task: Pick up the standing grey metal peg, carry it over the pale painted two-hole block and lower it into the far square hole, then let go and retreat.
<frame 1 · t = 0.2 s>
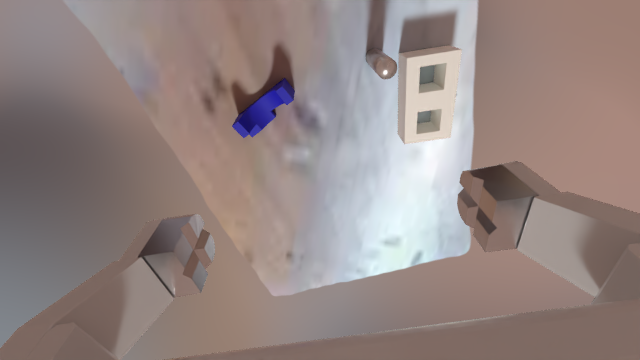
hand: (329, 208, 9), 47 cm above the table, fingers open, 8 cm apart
cable clip: (268, 105, 55), on the table
hole block: (421, 93, 54), on the table
peg: (373, 57, 50), on the table
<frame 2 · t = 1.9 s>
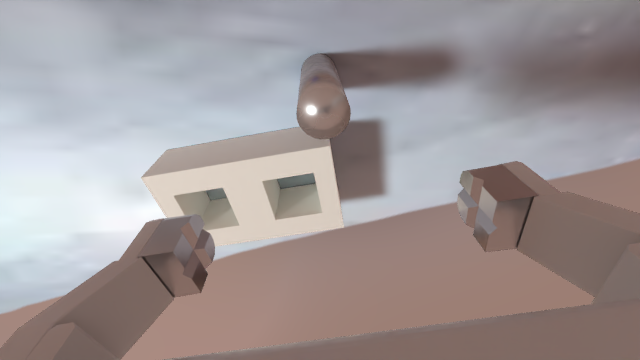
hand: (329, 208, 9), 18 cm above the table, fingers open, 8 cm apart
hole block: (258, 174, 29), on the table
peg: (318, 72, 24), on the table
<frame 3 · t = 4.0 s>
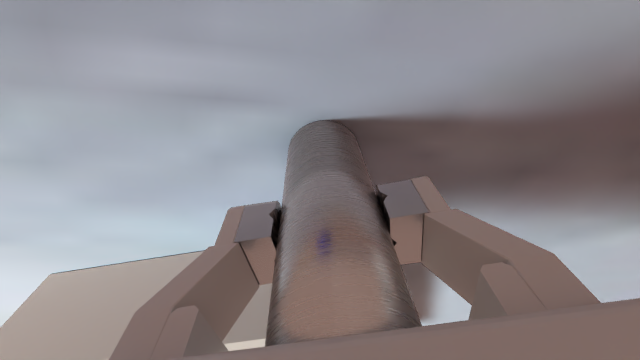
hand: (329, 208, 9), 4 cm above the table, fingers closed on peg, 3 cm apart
hole block: (220, 302, 17), on the table
peg: (323, 154, 12), on the table, touching gripper
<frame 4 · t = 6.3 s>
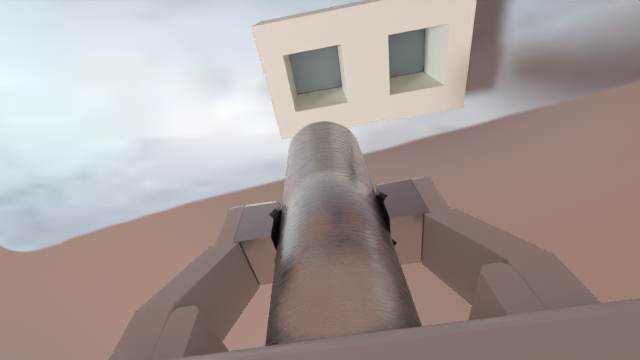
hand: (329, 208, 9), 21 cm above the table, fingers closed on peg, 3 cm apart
hole block: (357, 59, 26), on the table
peg: (324, 154, 12), point 17 cm above the table, touching gripper
when the fingers open (6 cm above the table, at t = 8.8 s): peg drops 2 cm, resting in hole block.
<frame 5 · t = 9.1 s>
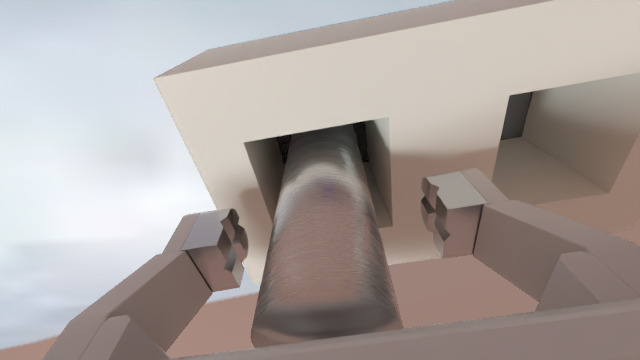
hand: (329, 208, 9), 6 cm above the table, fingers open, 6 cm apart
hole block: (400, 117, 14), on the table
peg: (323, 131, 14), resting in hole block
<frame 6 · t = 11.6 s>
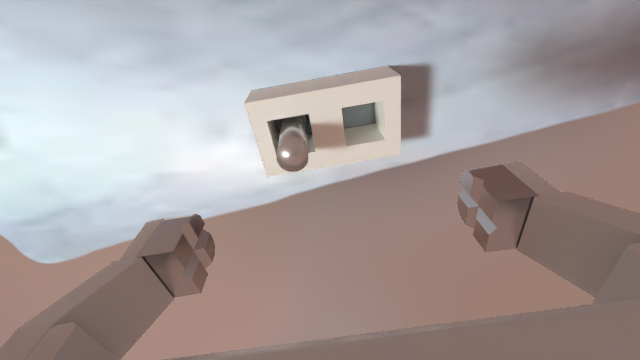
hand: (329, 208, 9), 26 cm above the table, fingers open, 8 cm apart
hole block: (324, 115, 34), on the table
peg: (294, 120, 35), resting in hole block
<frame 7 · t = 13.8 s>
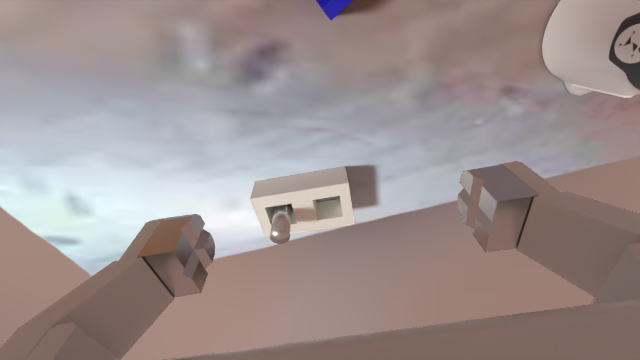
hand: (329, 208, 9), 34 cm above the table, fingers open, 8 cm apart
hole block: (304, 194, 51), on the table
peg: (284, 197, 51), resting in hole block
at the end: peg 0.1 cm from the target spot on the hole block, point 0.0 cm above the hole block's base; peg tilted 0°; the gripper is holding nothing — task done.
